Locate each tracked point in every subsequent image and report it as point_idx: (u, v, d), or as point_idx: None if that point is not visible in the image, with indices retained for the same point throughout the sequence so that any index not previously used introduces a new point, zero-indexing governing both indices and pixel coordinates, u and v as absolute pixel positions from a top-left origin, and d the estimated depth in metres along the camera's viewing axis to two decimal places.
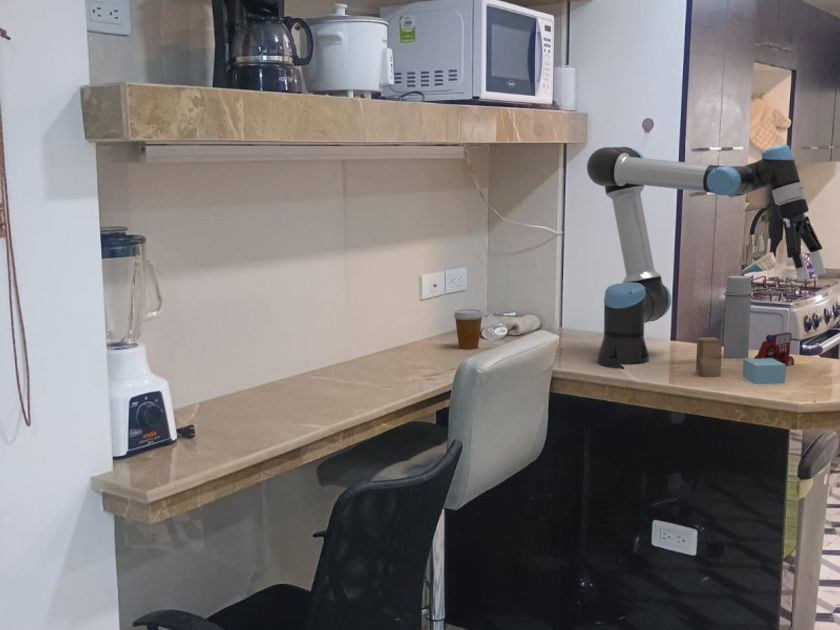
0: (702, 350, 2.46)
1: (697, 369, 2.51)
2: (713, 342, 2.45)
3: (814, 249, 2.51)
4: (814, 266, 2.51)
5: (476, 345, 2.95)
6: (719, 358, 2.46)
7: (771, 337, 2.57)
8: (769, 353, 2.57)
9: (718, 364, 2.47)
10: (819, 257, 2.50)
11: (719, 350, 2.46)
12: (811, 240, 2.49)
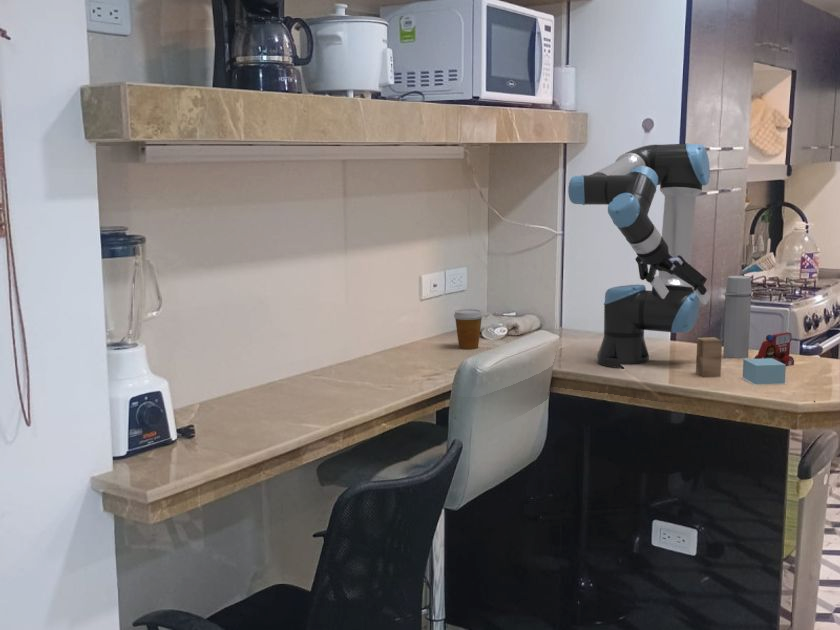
0: (702, 350, 2.46)
1: (697, 369, 2.51)
2: (713, 342, 2.45)
3: None
4: None
5: (476, 345, 2.95)
6: (719, 358, 2.46)
7: (771, 337, 2.57)
8: (769, 353, 2.57)
9: (718, 364, 2.47)
10: None
11: (719, 350, 2.46)
12: None
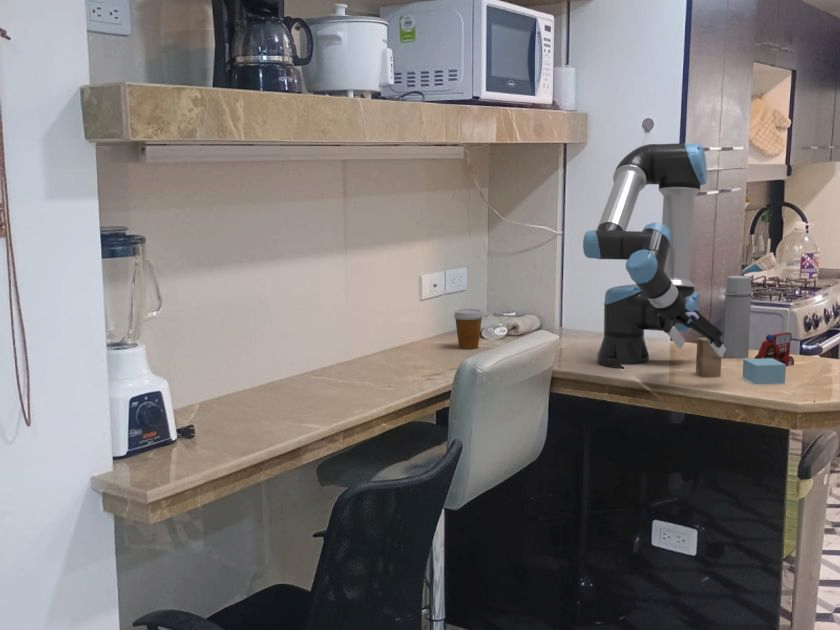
0: (702, 350, 2.46)
1: (697, 369, 2.51)
2: None
3: None
4: None
5: (476, 345, 2.95)
6: (719, 358, 2.46)
7: (771, 337, 2.57)
8: (769, 353, 2.57)
9: (718, 364, 2.47)
10: None
11: None
12: None
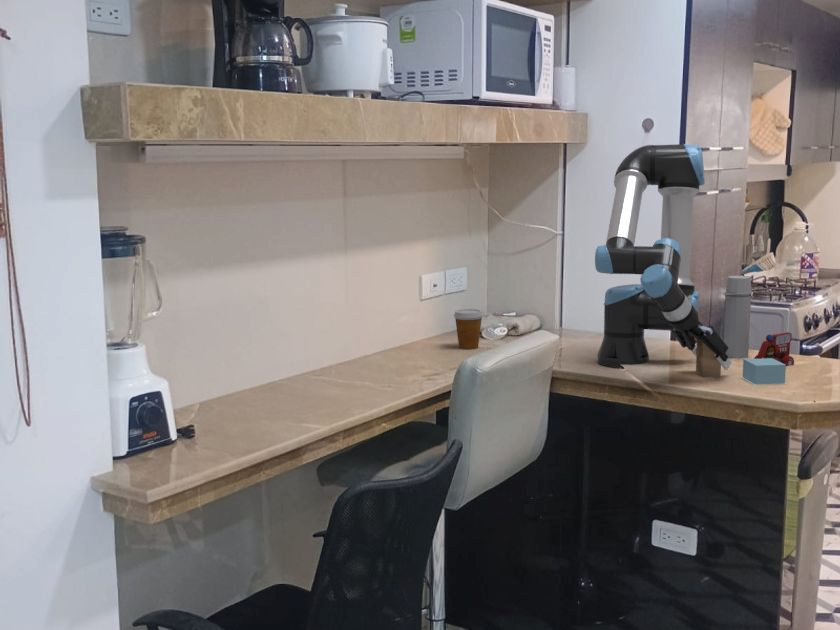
0: (702, 350, 2.46)
1: (697, 369, 2.51)
2: None
3: None
4: None
5: (476, 345, 2.95)
6: None
7: (771, 337, 2.57)
8: (769, 353, 2.57)
9: (718, 364, 2.46)
10: None
11: None
12: None
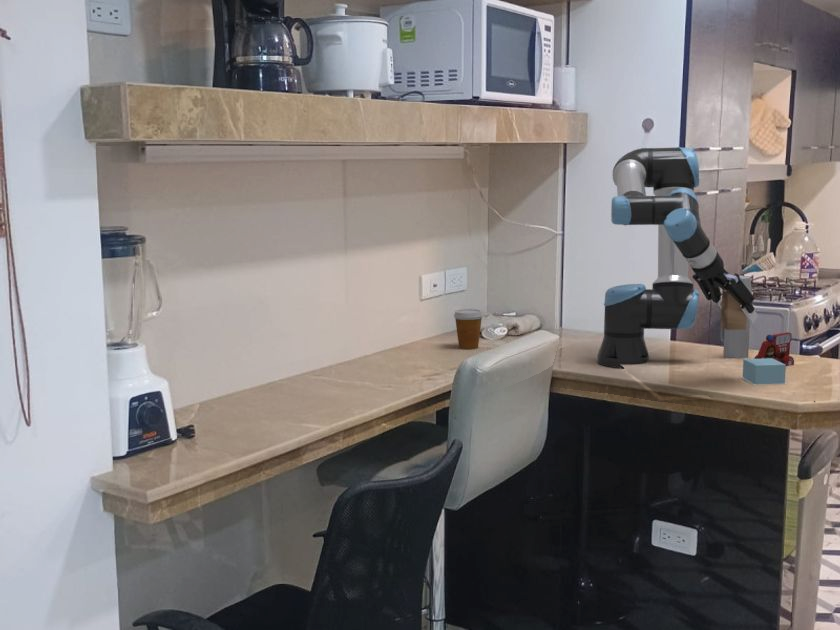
0: (727, 302, 2.39)
1: (721, 322, 2.43)
2: None
3: None
4: None
5: (476, 345, 2.95)
6: None
7: (771, 337, 2.57)
8: (769, 353, 2.57)
9: (743, 317, 2.39)
10: None
11: None
12: None
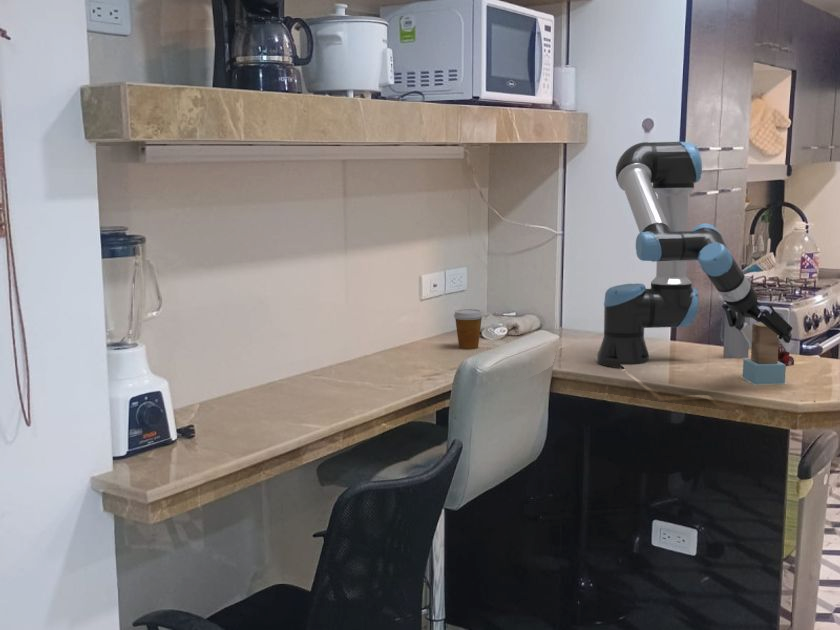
0: (758, 336, 2.38)
1: (752, 356, 2.43)
2: None
3: None
4: None
5: (476, 345, 2.95)
6: (776, 344, 2.38)
7: None
8: None
9: (775, 351, 2.38)
10: None
11: (776, 336, 2.38)
12: None
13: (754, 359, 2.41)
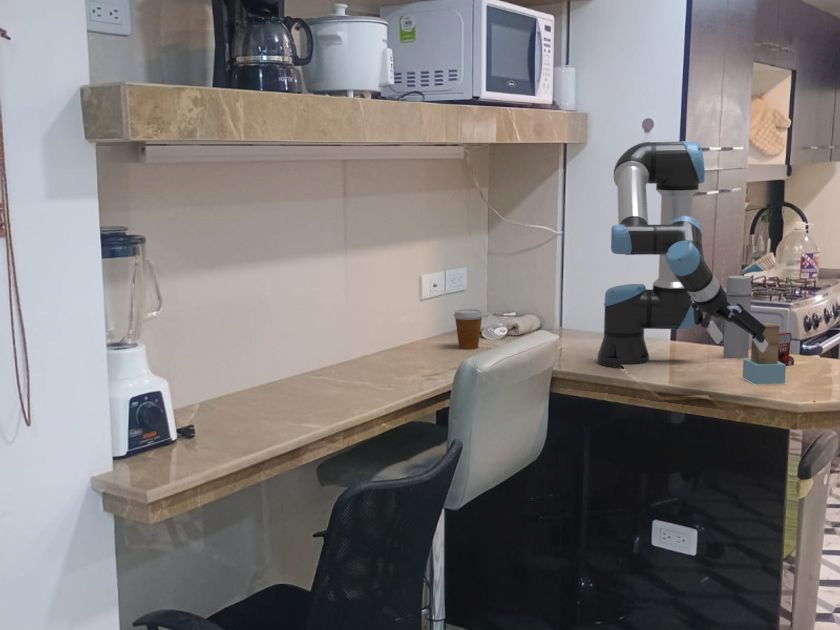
0: None
1: (752, 356, 2.43)
2: (770, 328, 2.37)
3: None
4: None
5: (476, 345, 2.95)
6: (776, 344, 2.38)
7: None
8: None
9: (775, 351, 2.38)
10: None
11: (776, 336, 2.38)
12: None
13: (754, 359, 2.41)
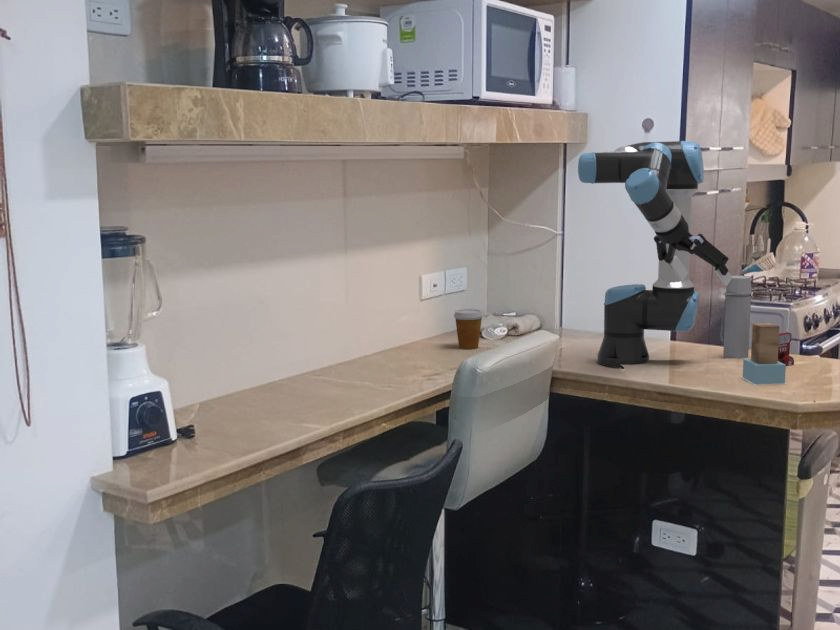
0: (758, 336, 2.38)
1: (752, 356, 2.43)
2: (770, 328, 2.37)
3: None
4: None
5: (476, 345, 2.95)
6: (776, 344, 2.38)
7: None
8: None
9: (775, 351, 2.38)
10: None
11: (776, 336, 2.38)
12: None
13: (754, 359, 2.41)
